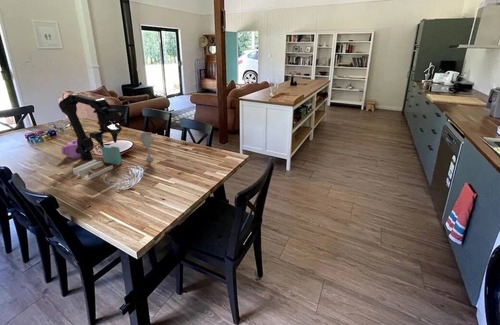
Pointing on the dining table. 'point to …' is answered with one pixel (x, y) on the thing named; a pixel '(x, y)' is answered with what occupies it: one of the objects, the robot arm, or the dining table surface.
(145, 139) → the chalice
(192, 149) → the dining table surface
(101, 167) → the offcut stack
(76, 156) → the teapot
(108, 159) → the teal flat block
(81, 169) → the rack
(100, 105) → the robot arm
